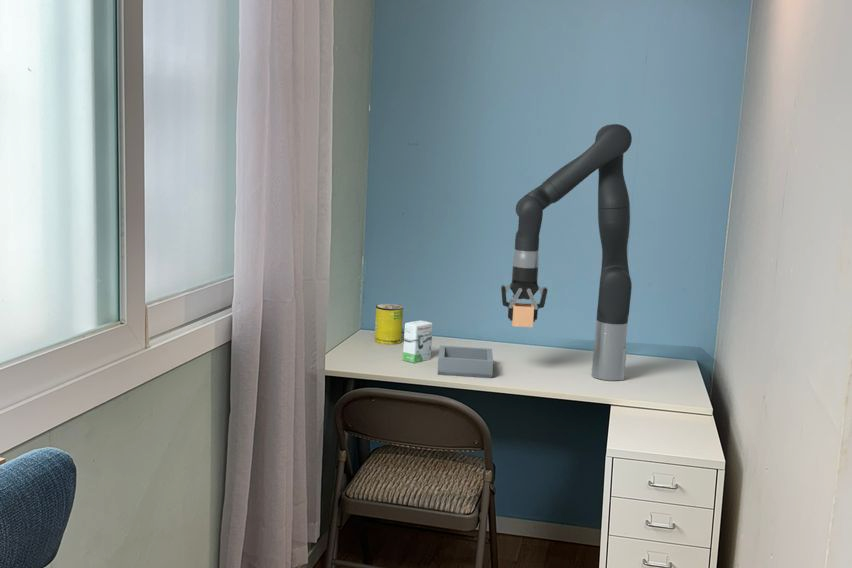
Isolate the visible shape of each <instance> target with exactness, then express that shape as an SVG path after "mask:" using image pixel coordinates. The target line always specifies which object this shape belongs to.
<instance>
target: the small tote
mask: <svg viewBox="0 0 852 568" xmlns="http://www.w3.org/2000/svg"><path fill="white" fill-rule="evenodd" d="M533 317H534V306H533V305H532V303H531V302H530V303H526V302H524V303H523V302H515V304H514V305H513V319H512V321H511V326H512V327H517V328H521V327H522V328H533V327H534V322H533Z"/></svg>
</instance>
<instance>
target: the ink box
mask: <svg viewBox="0 0 852 568" xmlns="http://www.w3.org/2000/svg"><path fill="white" fill-rule="evenodd" d="M433 326H434V324H433V323H432V322H430V321H426V320H422V319H421V320H415V321H409V322H405V323H404V334H403V350H402V351H403V353H402V361H405V362H409V363H412V364H416V363H421V362H424V361H428V360H431V359H432V344H433V343H432V341H433Z"/></svg>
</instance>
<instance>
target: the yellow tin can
mask: <svg viewBox="0 0 852 568" xmlns="http://www.w3.org/2000/svg"><path fill="white" fill-rule="evenodd" d="M403 312H404V306H403V305H399V304H396V303H395V304H393V303H380V304H379V303H378V304H376V305H375V323H374V324H375V325H374V342H375V343H377V344H380V345H386V346H387V345H390V346H391V345H393V346H394V345H400V344H401V343H402V336H403V335H402V334H403V333H402V332H403V317H404V316H403V315H404V313H403Z"/></svg>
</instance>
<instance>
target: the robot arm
mask: <svg viewBox="0 0 852 568" xmlns="http://www.w3.org/2000/svg"><path fill="white" fill-rule="evenodd" d="M632 139H633V138H632V133H631V131H630V129H629V128H627V127H626V126H625V125H622V124H619V123H613V124H612V123H611V124H606V125H603V126H602V127H601V128H599V130H598V131H597V132H596V135H595V139H594V143H593V144H592V145H590V147H588V148H587V150H585V151H584V152H582V153H581V154H580V155H579V156H577V157H576V158H574V159H573V160H571V161H570V162H568V163H567V164H565V165H563V166H562V167H560V169H557V171H555V172H553V174H552V175H550V176H549V177H548V178H547V179H546V180H545V181H543V182H542V183H541V184H540V185H538V186H537V187H534V189H532V190H530V191H529V192H527V193H526V194H525V195H523V196H522V197H521V198H520V199H519V200H518V201H517V203H516V205H515V213H516V216H518V225H517V226H518V227H517V231H516V233H515V238H514V252H513V256H512V259H513V260H512V274H511V275H512V277H511V283H510V285H509V284H507V285H504V284H501V286H500V288H501V289H500V290H501V303H502V306H504V307H507V318H508V320H510V322H512V319H513V305H514V304H515V303H517V300H530V303H531V304H532V305H533V306H534V317H533V323H534V322H536V321H537V320H538V311H539V309H542V308H544V307H545V304H546V300H547V294H548V288H547V286H544V287H543V286H539V285H538V278H539V277H538V275H539V265H540V256H539V255H540V254H539V251H540V250H539V248H540V247H539V246H540V232H541V228H542V222H543V215H544V213H543V212H544V210H545V209H546V208H548V207H549V206H550V205H552V204H555V203H557V202H559V201H560V200H561V199H563V198H564V197H565V196H566V195H567V194H569V193H570V192H571V191H573V190H574V189H575V188H576V187H577V186H578V185H579V184H581V182H583V181H584V180H585V179H587V178H588V177H589V176H590V175H592V174H593V173H594V172H595V171H597V170H598V183H597V185H598V186H597V221H598V231H599V238H600V244H601V252H602V254H601V258H602V259H601V270H600V272H601V273H600V276H599V277H600V278H599V287H598V298H597V308H596V321H595V331H594V343H593V355H592V366H591V367H592V368H591V376H592V378H595V379H598V380H603V381H613V382H614V381H625V373H626V371H625V370H626V361H627V352H628V351H627V348H626V344H627V343H626V342H627V334H628V322H629V316H630V307H631V306H630V305H631V297H632V285H633V284H632V279H631V275H630V268H629V262H628V261H629V259H628V243H629V235H630V225H631V205H630V204H631V203H630V196H629V195H630V194H629V192H628V188H627V184H626V180H625V175H624V154H625V153H626V152H628V150H629V149H630V147H631V144H632V141H633V140H632ZM509 290H511V291H512V293H513V295H511V296H512V297H511V298H510V299H509V300H510V301H509V302H508V300H507V293H509ZM538 291H539V294H540V301H539V302H538V303H537V302H536V299H535V295H536V293H537V292H538Z"/></svg>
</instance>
